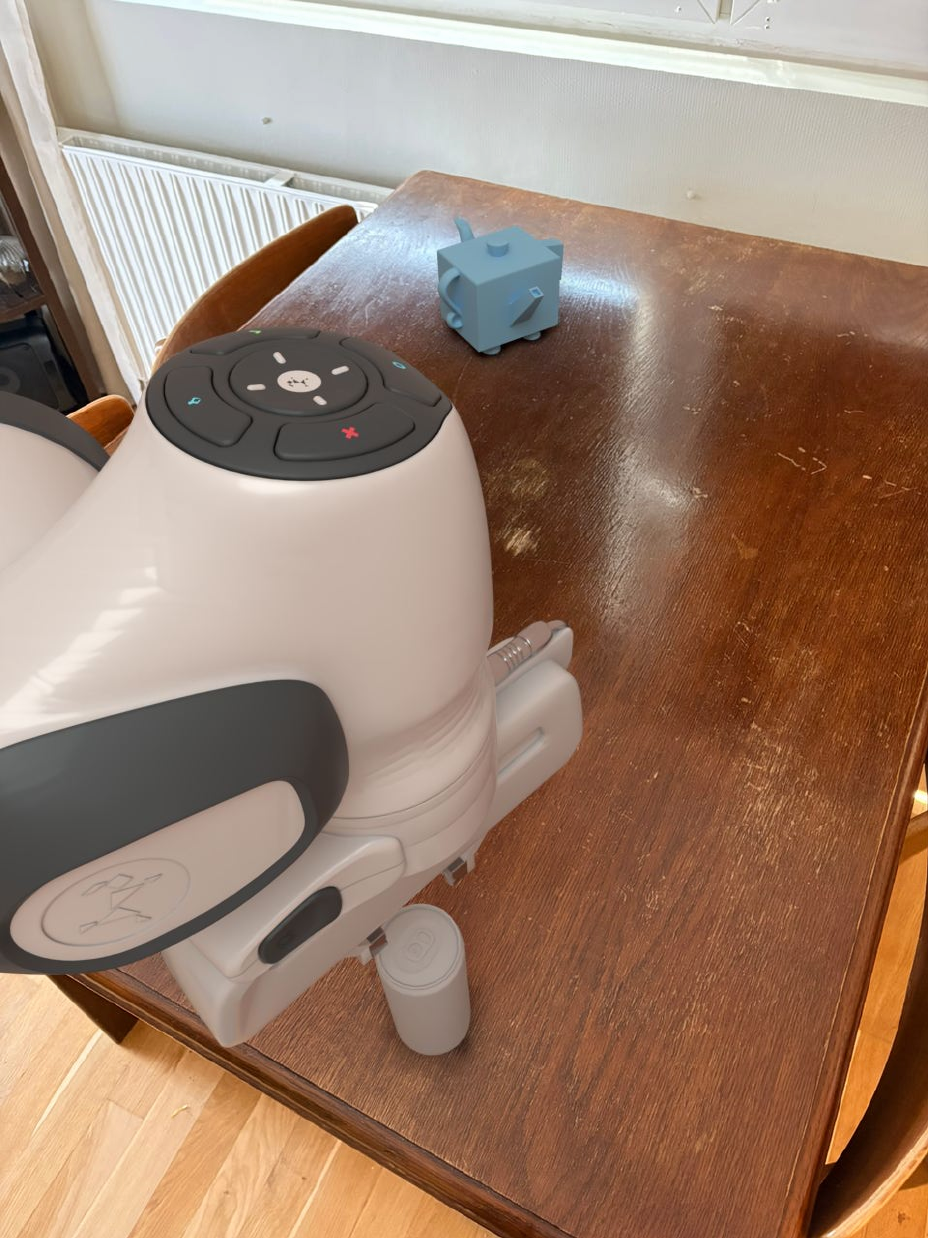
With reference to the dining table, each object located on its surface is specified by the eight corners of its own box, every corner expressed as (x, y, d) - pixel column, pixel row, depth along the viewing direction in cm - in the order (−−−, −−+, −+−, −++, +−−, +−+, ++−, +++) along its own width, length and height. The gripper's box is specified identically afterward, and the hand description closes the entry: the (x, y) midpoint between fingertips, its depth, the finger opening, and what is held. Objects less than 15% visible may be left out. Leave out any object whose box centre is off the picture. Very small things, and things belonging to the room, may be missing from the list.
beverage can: (379, 1028, 56) (353, 957, 47) (425, 963, 58) (409, 884, 49) (442, 1075, 54) (428, 1011, 45) (487, 1006, 56) (481, 932, 47)
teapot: (478, 385, 100) (475, 291, 92) (406, 313, 111) (397, 223, 102) (596, 342, 105) (603, 249, 96) (515, 277, 115) (515, 188, 107)
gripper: (517, 561, 39) (516, 738, 49) (86, 869, 30) (196, 1004, 41) (629, 642, 36) (603, 812, 46) (184, 1011, 27) (276, 1118, 37)
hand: (410, 904), depth 43 cm, fingers open, 4 cm apart
